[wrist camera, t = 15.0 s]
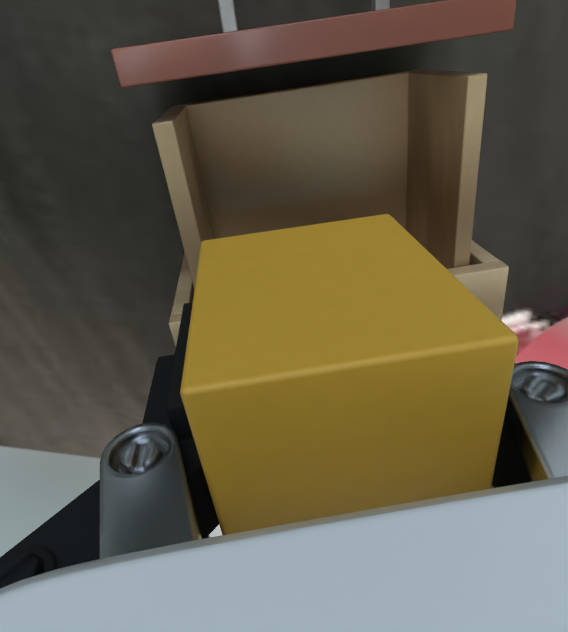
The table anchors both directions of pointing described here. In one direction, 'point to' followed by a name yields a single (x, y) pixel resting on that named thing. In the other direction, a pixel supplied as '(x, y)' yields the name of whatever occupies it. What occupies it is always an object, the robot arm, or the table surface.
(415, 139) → the drawer
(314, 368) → the yellow block
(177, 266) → the table surface
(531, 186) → the table surface
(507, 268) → the cabinet
